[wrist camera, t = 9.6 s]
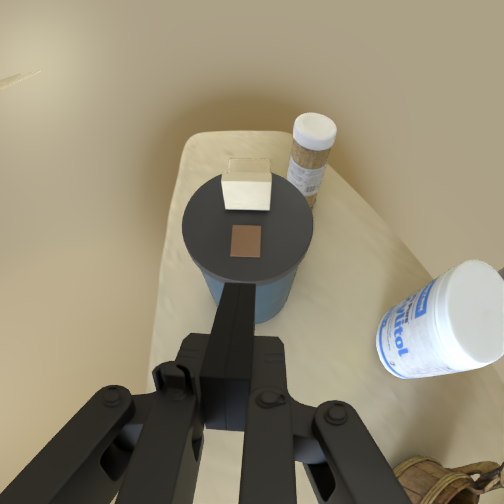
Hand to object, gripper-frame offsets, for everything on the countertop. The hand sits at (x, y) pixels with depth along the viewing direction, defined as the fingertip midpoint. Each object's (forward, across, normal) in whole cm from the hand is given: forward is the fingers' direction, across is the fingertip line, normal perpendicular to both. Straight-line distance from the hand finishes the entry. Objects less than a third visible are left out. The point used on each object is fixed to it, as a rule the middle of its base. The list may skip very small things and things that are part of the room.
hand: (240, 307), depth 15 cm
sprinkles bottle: (+28, +6, +1) cm, 29 cm away
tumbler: (+19, 0, -8) cm, 21 cm away
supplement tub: (+14, +19, -13) cm, 27 cm away
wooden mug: (+1, +22, -26) cm, 35 cm away
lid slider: (+10, 0, +5) cm, 11 cm away
